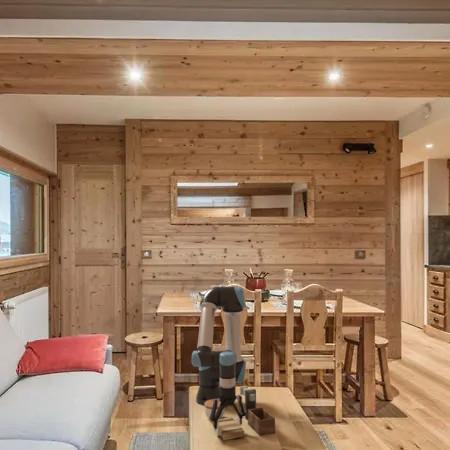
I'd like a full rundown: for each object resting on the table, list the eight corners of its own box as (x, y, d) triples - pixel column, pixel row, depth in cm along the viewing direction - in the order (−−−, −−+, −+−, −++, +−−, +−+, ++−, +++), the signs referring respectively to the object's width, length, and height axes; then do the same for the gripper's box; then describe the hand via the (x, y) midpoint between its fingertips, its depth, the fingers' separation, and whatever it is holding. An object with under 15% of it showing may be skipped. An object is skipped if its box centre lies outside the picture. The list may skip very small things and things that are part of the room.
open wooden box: (247, 424, 217) (247, 409, 217) (262, 421, 219) (262, 407, 220) (259, 436, 203) (259, 420, 204) (275, 433, 206) (274, 418, 206)
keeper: (245, 418, 223) (245, 390, 224) (254, 416, 225) (254, 388, 225) (246, 420, 221) (246, 391, 222) (256, 418, 223) (255, 390, 223)
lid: (212, 428, 212) (212, 420, 212) (231, 424, 215) (231, 417, 215) (223, 442, 197) (223, 434, 197) (244, 438, 200) (244, 430, 200)
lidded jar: (222, 423, 217) (222, 404, 218) (202, 421, 220) (201, 403, 220) (227, 414, 228) (227, 396, 228) (207, 413, 230) (207, 395, 230)
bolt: (240, 394, 231) (239, 386, 232) (246, 393, 233) (246, 385, 233) (249, 402, 220) (249, 394, 220) (256, 401, 221) (256, 393, 222)
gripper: (207, 391, 199) (207, 440, 199) (252, 385, 207) (253, 432, 206) (202, 386, 206) (202, 433, 206) (246, 380, 214) (246, 426, 213)
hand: (227, 433), depth 206 cm, fingers closed on lid, 10 cm apart
